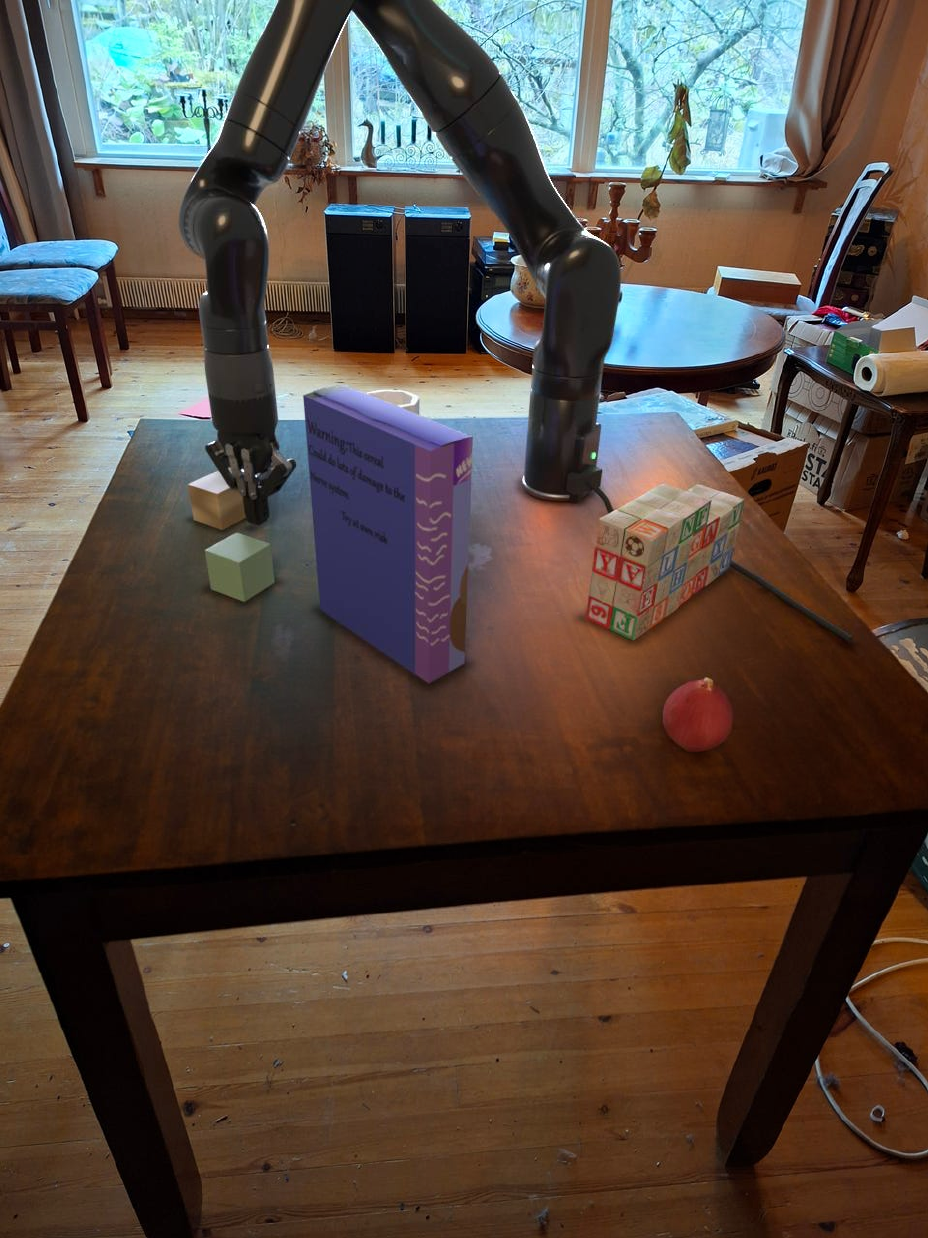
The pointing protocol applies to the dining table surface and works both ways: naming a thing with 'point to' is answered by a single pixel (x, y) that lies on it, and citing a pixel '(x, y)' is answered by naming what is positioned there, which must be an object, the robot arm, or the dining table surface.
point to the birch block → (216, 502)
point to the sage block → (240, 566)
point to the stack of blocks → (660, 555)
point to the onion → (698, 716)
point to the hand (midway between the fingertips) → (257, 521)
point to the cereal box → (391, 526)
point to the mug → (398, 399)
